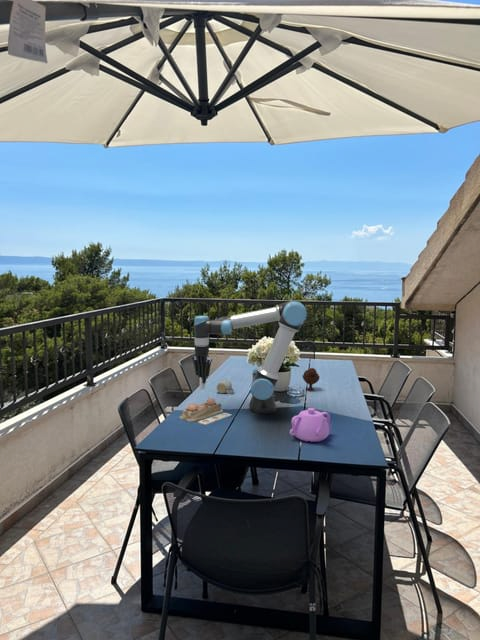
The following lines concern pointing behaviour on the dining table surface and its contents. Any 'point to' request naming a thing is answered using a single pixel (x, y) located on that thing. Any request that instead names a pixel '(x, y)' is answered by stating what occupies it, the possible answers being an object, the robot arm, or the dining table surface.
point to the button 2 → (210, 402)
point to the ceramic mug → (225, 387)
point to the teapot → (310, 425)
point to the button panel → (201, 412)
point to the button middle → (201, 406)
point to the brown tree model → (311, 378)
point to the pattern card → (214, 418)
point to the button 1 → (192, 407)
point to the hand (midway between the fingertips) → (202, 388)
